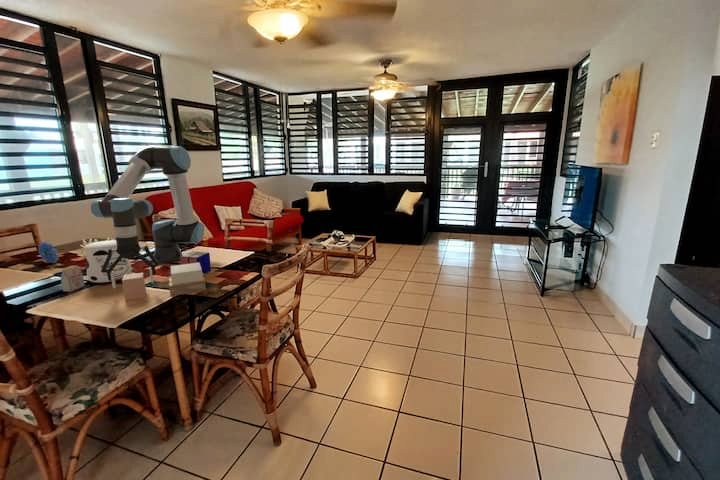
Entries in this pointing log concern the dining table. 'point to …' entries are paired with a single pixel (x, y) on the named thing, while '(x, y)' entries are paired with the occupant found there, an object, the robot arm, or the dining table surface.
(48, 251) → the blue thick disc
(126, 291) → the terracotta block
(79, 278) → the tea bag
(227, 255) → the dining table surface
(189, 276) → the tower top
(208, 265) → the puzzle cube
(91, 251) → the milk container
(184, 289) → the tower base
